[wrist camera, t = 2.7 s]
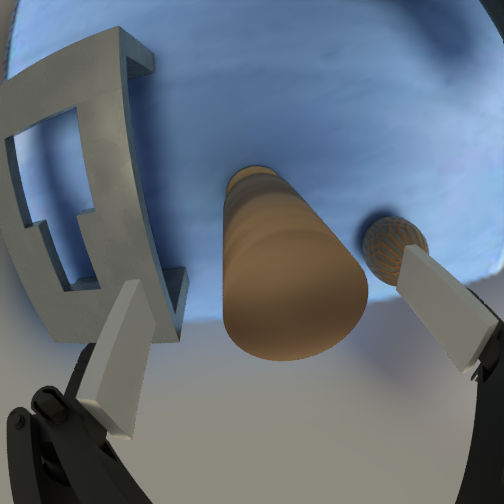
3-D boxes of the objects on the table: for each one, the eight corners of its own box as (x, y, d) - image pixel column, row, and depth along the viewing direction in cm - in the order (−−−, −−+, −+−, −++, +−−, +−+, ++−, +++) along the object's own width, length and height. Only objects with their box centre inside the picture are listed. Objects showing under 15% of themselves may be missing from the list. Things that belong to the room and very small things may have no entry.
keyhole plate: (35, 97, 18) (-22, 102, 10) (153, 53, 18) (118, 25, 10) (84, 292, 29) (54, 342, 21) (189, 283, 29) (179, 342, 21)
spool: (220, 166, 24) (211, 254, 9) (285, 161, 24) (377, 235, 9) (227, 226, 27) (233, 368, 12) (287, 220, 27) (356, 348, 12)
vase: (346, 259, 30) (380, 306, 22) (364, 203, 27) (410, 237, 19) (391, 265, 31) (429, 307, 23) (410, 214, 28) (457, 247, 20)
